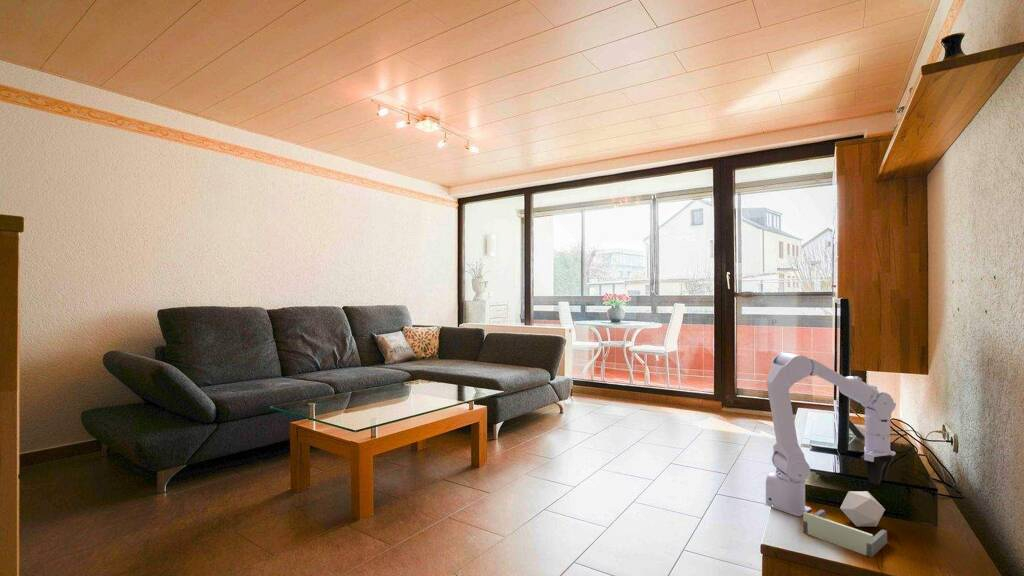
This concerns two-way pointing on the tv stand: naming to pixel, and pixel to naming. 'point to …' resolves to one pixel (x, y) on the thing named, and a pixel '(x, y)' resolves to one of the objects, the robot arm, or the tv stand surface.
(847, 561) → the tv stand surface
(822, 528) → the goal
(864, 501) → the die
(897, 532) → the tv stand surface
